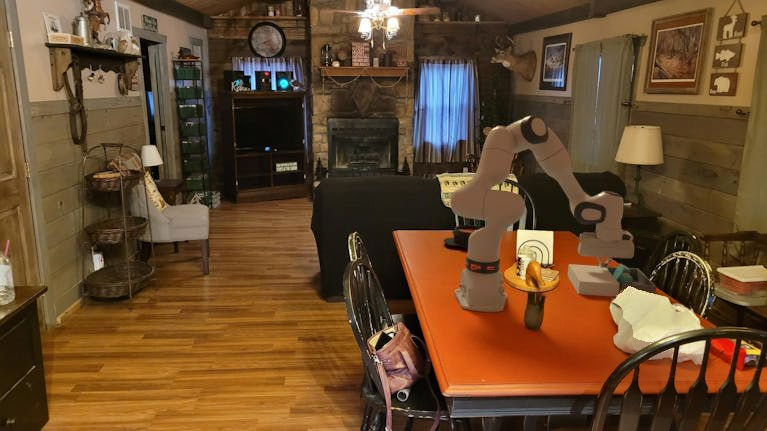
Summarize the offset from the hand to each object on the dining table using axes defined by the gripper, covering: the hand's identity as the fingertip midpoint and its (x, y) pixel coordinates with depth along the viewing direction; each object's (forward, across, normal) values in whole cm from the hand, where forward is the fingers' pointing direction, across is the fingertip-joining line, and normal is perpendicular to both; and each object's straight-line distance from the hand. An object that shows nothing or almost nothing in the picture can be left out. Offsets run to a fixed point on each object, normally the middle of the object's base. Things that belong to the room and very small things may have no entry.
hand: (603, 267), depth 213 cm
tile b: (+2, +6, 0) cm, 6 cm away
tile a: (+2, +4, -10) cm, 11 cm away
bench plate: (+6, -5, -5) cm, 9 cm away
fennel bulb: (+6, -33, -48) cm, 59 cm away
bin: (+6, +8, -5) cm, 12 cm away
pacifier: (+6, +1, -23) cm, 24 cm away
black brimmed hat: (+6, -50, +40) cm, 65 cm away
